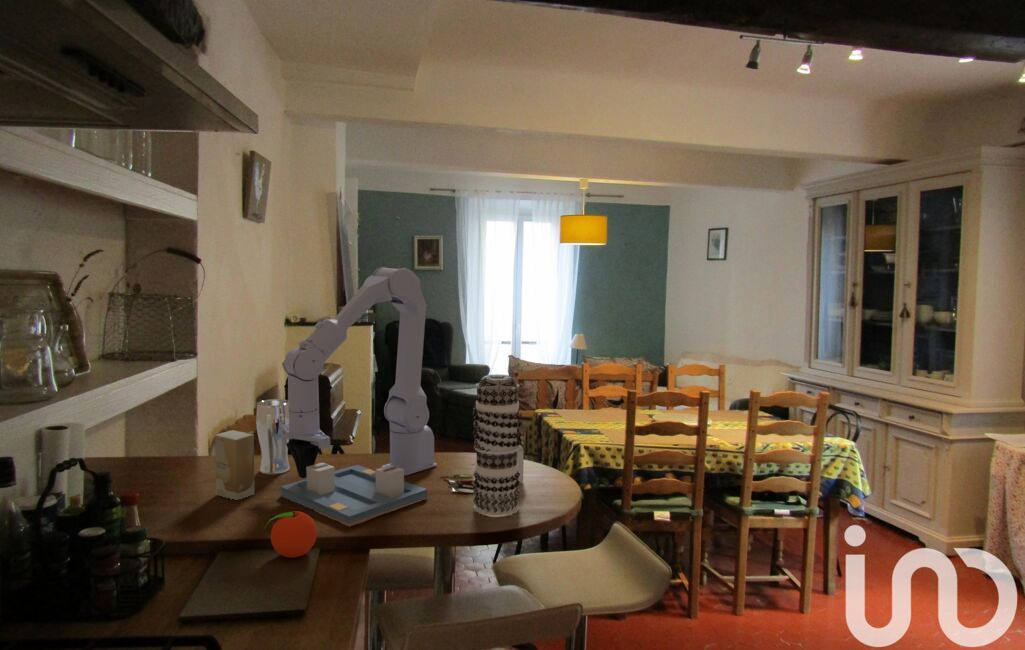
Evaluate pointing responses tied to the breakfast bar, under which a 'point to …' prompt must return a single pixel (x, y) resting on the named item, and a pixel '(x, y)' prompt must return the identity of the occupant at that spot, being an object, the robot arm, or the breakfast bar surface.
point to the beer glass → (272, 435)
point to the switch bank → (352, 495)
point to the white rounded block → (520, 463)
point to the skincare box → (234, 464)
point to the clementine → (293, 534)
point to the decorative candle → (496, 445)
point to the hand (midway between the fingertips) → (305, 476)
